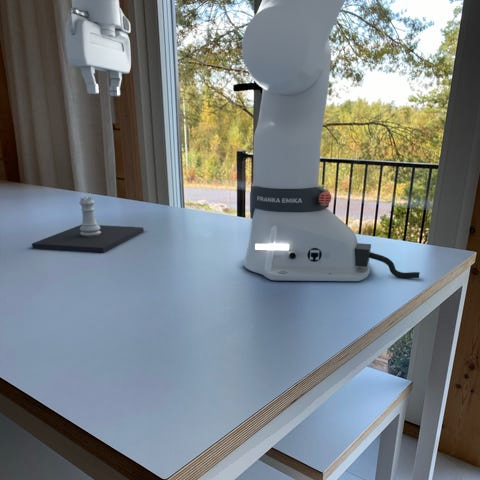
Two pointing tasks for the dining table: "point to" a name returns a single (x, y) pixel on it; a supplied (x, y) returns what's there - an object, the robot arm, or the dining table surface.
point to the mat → (89, 239)
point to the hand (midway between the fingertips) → (104, 95)
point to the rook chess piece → (88, 218)
